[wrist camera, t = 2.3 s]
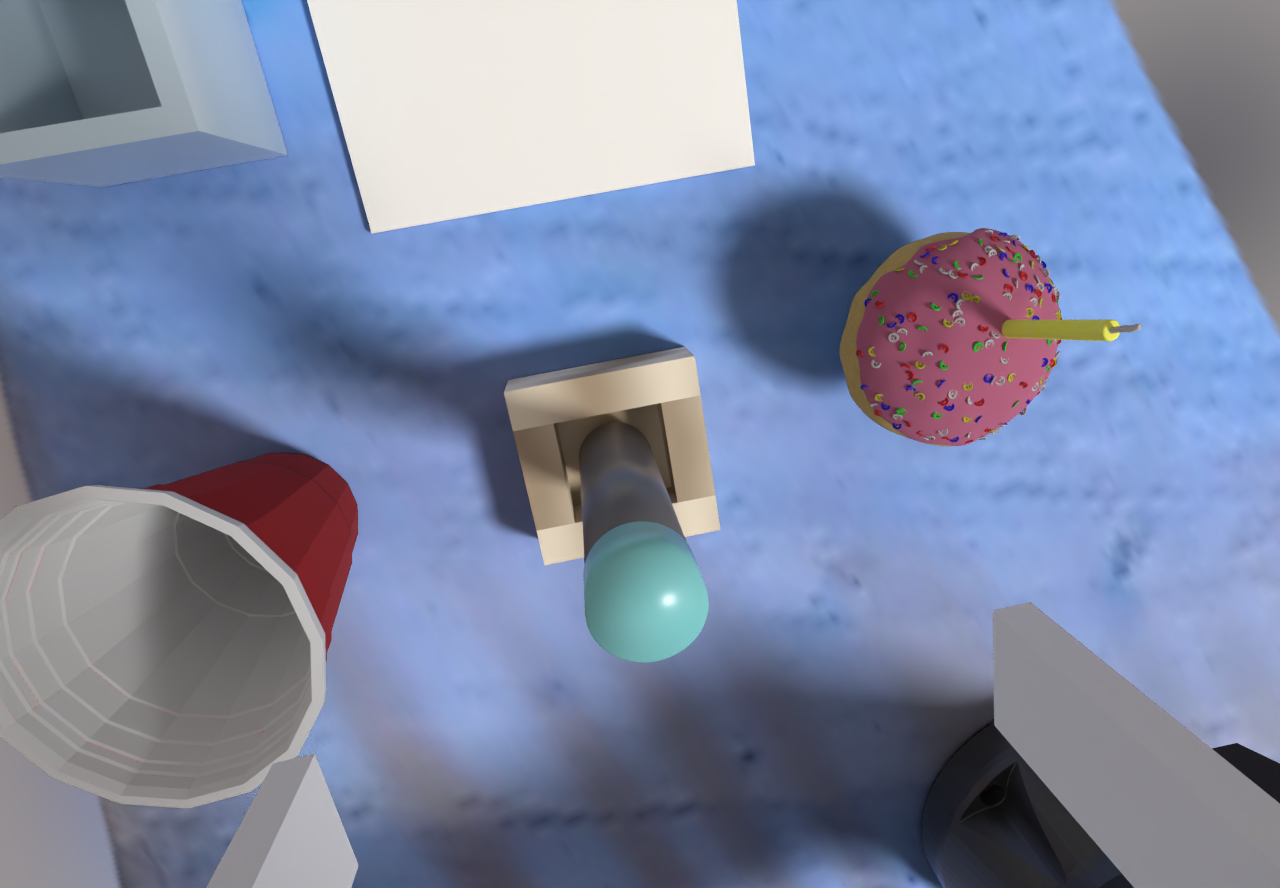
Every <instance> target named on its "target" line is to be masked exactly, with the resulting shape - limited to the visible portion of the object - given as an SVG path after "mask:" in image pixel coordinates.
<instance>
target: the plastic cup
mask: <svg viewBox="0 0 1280 888" xmlns="http://www.w3.org/2000/svg"><path fill="white" fill-rule="evenodd" d="M357 535H358V509H357V503H356V501H355V498H354V496H353V494H352V492H351V490H350V487H349V485H348V483H347V482H346V481H345V480H344V479H343V478H342V477H341V476H340V475H339V474H338V473H337V472H336V471H335V470H334V469H332V468H331V467H330V466H329V465H327V464H325V463H323V462H321V461H318V460H316V459H314V458H312V457H309V456H307V455H304V454H290V453H269V454H266V455H263V456H259V457H256V458H253V459H250V460H246V461H240V462H237V463H234V464H230V465H227V466H224V467H221V468H217V469H214V470H211V471H208V472H204V473H201V474H198V475H195V476H192V477H188V478H185V479H182V480H179V481H176V482H172V483H169V484H166V485H160V484H159V485H155V486H151V487H148V488H126V487H114V486H103V485H90V486H83V487H79V488H76V489H73V490H69V491H66V492H63V493H59V494H56V495H53V496H49V497H46V498H43V499H39V500H36V501H33V502H29V503H26V504H23V505H19V506H16V507H14V508H13V509H12V510H11V511H10V512H9V513H7V514H6V516H4V517H3V518H2V519H1V520H0V737H1V738H2V739H3V740H5V741H6V742H7V743H8V744H10V745H11V746H12V747H13V748H15V749H16V750H17V751H19V752H20V753H21V754H22V755H24V756H25V757H26V758H28V759H29V760H30V761H31V762H33V763H34V764H35V765H37V766H38V767H39V768H41V770H43V771H44V772H45V773H47V774H48V775H49V776H51V777H52V778H54V779H56V780H59V781H61V782H64V783H67V784H69V785H72V786H75V787H77V788H80V789H82V790H85V791H87V792H90V793H93V794H95V795H98V796H100V797H103V798H106V799H108V800H111V801H113V802H116V803H119V804H129V805H143V806H158V807H173V808H187V809H189V808H193V807H196V806H200V805H204V804H208V803H211V802H215V801H219V800H222V799H226V798H230V797H234V796H237V795H241V794H245V793H248V792H251V791H253V790H254V789H255V788H256V787H258V786H259V785H260V784H262V783H263V781H264V779H265V777H266V776H267V774H268V772H269V770H270V768H271V766H272V764H273V763H276V762H280V761H285V760H290V759H294V758H295V757H297V756H298V755H299V753H300V751H301V749H302V747H303V745H304V743H305V741H306V739H307V736H308V734H309V732H310V730H311V728H312V726H313V724H314V722H315V720H316V718H317V716H318V714H319V712H320V710H321V708H322V706H323V704H324V700H325V696H326V661H327V650H328V648H329V645H330V642H331V631H332V627H333V624H334V621H335V617H336V614H337V611H338V607H339V604H340V601H341V597H342V594H343V591H344V587H345V584H346V581H347V577H348V574H349V571H350V567H351V564H352V552H353V548H354V545H355V542H356V538H357Z"/></svg>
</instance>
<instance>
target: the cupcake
mask: <svg viewBox="0 0 1280 888" xmlns="http://www.w3.org/2000/svg"><path fill="white" fill-rule="evenodd" d="M1013 237H1014V238H1013ZM1015 237H1017V238H1016V239H1015ZM1018 240H1020V237H1019V236H1018V235H1011V236H1009V235H1007V233H1002V232H999V231H996V230H992V229H986V228H980V229H977V230H975V231H974V232H972V233H965V232H949V233H940V234H936V235H932V236H930V237H927V238H924V239H921V240H918V241H914V242H912V243H909V244H906V245H904V246H902V247H901V248H899V249H897V250H896V251H895V252H894V253H892V254H891V255H890V256H889V257H888V258H887V259H886V260H885V261H884V263H883V264H882V265H881V266H880V267H879V268H878V269H877V270H876V271H875V273H874V274H873V275H872V276H871V278H870V279H869V280H868V281H867V282H866V283H865V285H864V286H862V287H861V288H860V290H859V291H858V292H857V293H856V295H855V296H854V298H853V301H852V304H851V307H850V310H849V314H848V317H847V321H846V325H845V328H844V332H843V335H842V339H841V343H840V351H839V352H840V360H841V363H842V366H843V370H844V373H845V378H846V382H847V386H848V390H849V393H850V395H851V397H852V399H853V400H854V402H855V403H856V404H857V405H858V407H859V408H860V409H861V410H862V411H863V412H864V413H865V414H866V415H867V416H868V417H869V418H870V419H872V420H873V421H874V422H876V423H877V424H879V425H880V426H882V427H883V428H885V429H887V430H889V431H891V432H894V433H896V434H899V435H902V436H904V437H907V438H910V439H913V440H916V441H919V442H922V443H926V444H931V445H938V446H962V445H966V444H969V443H971V442H973V441H975V440H977V439H978V440H983V439H986V438H987V437H983V436H985V435H987V434H989V433H991V432H992V434H996V433H998V432H999V430H1000V427H1002V426H1006V425H1007V422H1009V421H1010V420H1011V419H1013V418H1014V417H1015V416H1016V415H1017V414H1019V413H1020V414H1021V415H1024V414H1026V412H1027V408H1026V407H1027V405H1028V404H1029V403H1030V402H1031V401H1032V400H1033V398H1034V397H1035V396H1036V395H1038V394H1039V393H1040V391H1042V390H1043V389H1044V388H1045V387H1046V386H1045V382H1046V381H1047V380H1048V379H1049V378H1048V376H1049V374H1050V372H1051V369H1052V367H1054V366H1055V365H1056V364H1057V359H1056V357H1057V356H1058V355H1059V354H1060V351H1059V352H1058V353H1057V354H1056V351H1057V347H1058V344H1060V342H1061V340H1085V341H1113V340H1115V339H1116V338H1117V337H1118V336H1119V334H1120V332H1135V331H1138V330H1140V329H1141V325H1140V324H1136V325H1122V326H1120V325H1119V323H1118V322H1117V321H1115V320H1062V317H1061V310H1060V308H1059V306H1058V300H1059V299H1060V293H1059V292H1058V287H1053V286H1054V284H1053V282H1052V280H1051V279H1050V278H1049V277H1048V276H1049V275H1050V272H1049V270H1048V269H1044V268H1046V264H1045V262H1043V261H1041V257H1040V256H1039V255H1036V256H1035V252H1034V251H1033V250H1029V248H1028V247H1027V246H1025V245H1023V244H1022V243H1021V242H1020V241H1018ZM1038 258H1039V260H1038ZM1042 263H1043V264H1042ZM1042 265H1043V266H1042ZM1055 290H1056V292H1055ZM1056 294H1057V296H1056ZM1057 297H1058V298H1057ZM1042 387H1043V388H1042ZM1041 388H1042V389H1041ZM1023 409H1024V410H1025V411H1024V410H1023ZM1021 411H1022V412H1021ZM1023 411H1024V413H1023ZM997 429H998V430H997ZM996 430H997V431H996Z"/></svg>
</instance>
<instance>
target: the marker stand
mask: <svg viewBox="0 0 1280 888" xmlns="http://www.w3.org/2000/svg"><path fill="white" fill-rule="evenodd" d="M504 396H505V400H506V404H507V408H508V413H509V417H510V421H511V425H512V429H513V434H514V438H515V442H516V446H517V451H518V455H519V459H520V463H521V467H522V472H523V476H524V480H525V484H526V488H527V493H528V497H529V501H530V505H531V509H532V514H533V518H534V522H535V526H536V531H537V535H538V539H539V543H540V547H541V552H542V556H543V560H544V564H545V565H548V564H553V563H558V562H563V561H568V560H573V559H578V558H583V557H584V542H583V522H582V503H581V483H580V463H579V454H580V449H581V445H582V443H583V441H584V440H585V438H586V437H587V435H588V434H589V433H590V432H591V431H593V430H594V429H595V428H597V427H599V426H601V425H603V424H607V423H612V422H620V423H625V424H629V425H631V426H633V427H635V428H637V429H638V430H639V431H640V432H641V433H642V434H643V435H644V436H645V437H646V439H647V441H648V443H649V445H650V448H651V450H652V453H653V455H654V458H655V461H656V463H657V466H658V469H659V471H660V474H661V476H662V479H663V482H664V484H665V487H666V490H667V492H668V495H669V497H670V500H671V503H672V505H673V508H674V511H675V513H676V516H677V518H678V521H679V524H680V526H681V529H682V532H683V534H684V537H687V536H692V535H697V534H702V533H707V532H712V531H717V530H720V524H719V517H718V510H717V503H716V497H715V490H714V483H713V476H712V470H711V463H710V456H709V449H708V443H707V436H706V429H705V422H704V416H703V409H702V402H701V395H700V389H699V382H698V375H697V369H696V362H695V356H694V355H693V354H692V353H691V352H690V351H689V350H688V349H687V348H686V347H680V348H675V349H669V350H664V351H659V352H653V353H648V354H643V355H638V356H632V357H627V358H622V359H616V360H611V361H606V362H601V363H595V364H590V365H585V366H579V367H574V368H569V369H563V370H558V371H553V372H548V373H542V374H537V375H532V376H526V377H521V378H516V379H511V380H508V382H507V385H506V388H505V390H504Z"/></svg>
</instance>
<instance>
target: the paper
mask: <svg viewBox="0 0 1280 888" xmlns="http://www.w3.org/2000/svg"><path fill="white" fill-rule="evenodd" d="M307 2H308V6H309V10H310V13H311V17H312V20H313V24H314V28H315V31H316V35H317V38H318V42H319V46H320V49H321V53H322V56H323V60H324V64H325V67H326V71H327V74H328V78H329V82H330V85H331V89H332V92H333V96H334V100H335V103H336V107H337V110H338V114H339V118H340V121H341V125H342V128H343V132H344V136H345V139H346V143H347V147H348V150H349V154H350V157H351V161H352V165H353V168H354V172H355V175H356V179H357V183H358V186H359V190H360V193H361V197H362V201H363V204H364V208H365V211H366V215H367V219H368V222H369V226H370V229H371V233H378V232H384V231H390V230H395V229H401V228H406V227H412V226H418V225H423V224H429V223H435V222H440V221H446V220H451V219H457V218H463V217H468V216H474V215H480V214H485V213H491V212H496V211H502V210H508V209H513V208H519V207H525V206H530V205H536V204H541V203H547V202H553V201H558V200H564V199H570V198H575V197H581V196H586V195H592V194H598V193H603V192H609V191H615V190H620V189H626V188H631V187H637V186H643V185H648V184H654V183H660V182H665V181H671V180H677V179H682V178H688V177H693V176H699V175H705V174H710V173H716V172H722V171H727V170H733V169H738V168H744V167H750V166H754V165H755V162H754V153H753V144H752V135H751V126H750V117H749V108H748V99H747V90H746V81H745V72H744V63H743V54H742V46H741V37H740V28H739V19H738V10H737V1H736V0H307Z"/></svg>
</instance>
